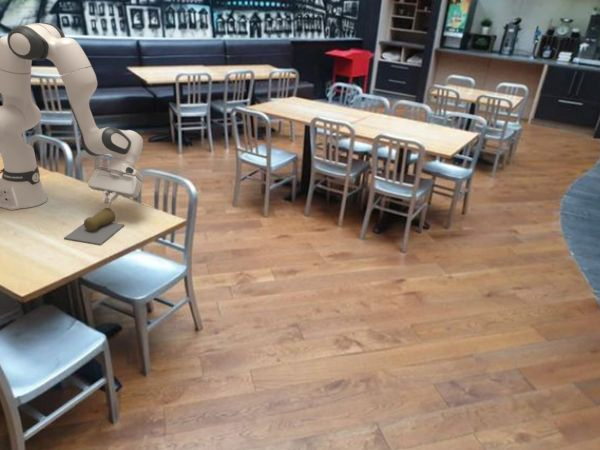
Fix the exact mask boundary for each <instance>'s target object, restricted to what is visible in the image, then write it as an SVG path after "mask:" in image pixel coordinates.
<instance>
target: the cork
mask: <svg viewBox="0 0 600 450" xmlns="http://www.w3.org/2000/svg"><path fill="white" fill-rule="evenodd" d="M115 221H116V213H115V212H114V210H113V209H111V208H110V207H104V208H103V209H102V210H100V211H99V212H97V213H96V214H94V215H93V216H89V217H86V218H85V219H84V221H83V224H84V226H85V228H86V229H87V230H89V231H95V230H96V229H97V228H98V227H100V226H103V225H106V224H109V223H115Z"/></svg>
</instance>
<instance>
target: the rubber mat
mask: <svg viewBox="0 0 600 450" xmlns="http://www.w3.org/2000/svg"><path fill="white" fill-rule="evenodd" d="M124 227H125V224H122V223H118V222H112V223H109V224H106V225H103V226H100V227H98V228H97V229H96V230H95V231H89V230H87V229H86V228H85V226H84V223H82V224H81V225H80V226H78V227H77V228H75V229H74V230H73V231H72V232H70V233H68V234H67V235H66V236H64V237H63V239H64V240H66V241H67V240H68V241H72V242H77V243H78V242H79V243H82V244H83V243H84V244H90V245H95V246H103V244H104V243H106V242H107V241H108V240H109V239H110V238H112V237H113V236H114V235H115V234H116V233H117V232H119V231H120V230H121V229H123V228H124Z"/></svg>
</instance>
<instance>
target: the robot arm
mask: <svg viewBox="0 0 600 450" xmlns="http://www.w3.org/2000/svg"><path fill="white" fill-rule="evenodd" d="M46 60H49V61H50V62H51V63H53V65H54V66H55V68H56V70H57V73H58V74H59V76H60V79H61V81H62V82H63V85H64V87H65V88H64V89H65V91H66V95H67V101H68V104H69V106H70V110H71V113H72V115H73V117H74V120H75V122H76V125H77V128H78V130H79V134H80V140H81V142H80V143H81V145H82V146H81V147H82V148H83V150H84V151H85V152H86V153H87V154H88V155H89V156H92V157H101V156H105V155H111V161H110V162H109V165H108V167H103V166H100V167H98V168H95V169H94V171H93V173H92V174H91V175H90V177H89V179H88V181H87V185H88V187H89V188H90V189H92V190H94V191H98V192H99V191H100V192H103V200H102V202H103V203H104V204H108V205H112V204H113V202H114V201H115V200H116V199H118V197H119V196H124V197H129V198H133V199H134V198H135V199H136V198H137V197H139V195H140V193H141V189H142V186H143V185H142V182H143V180H144V176H143V175H142V174H141V173H140V172H139V171H138V170H137V169H135V168H136V164H137V161H138V160H139V158H140V156H141V153H142V150H143V145H144V139H143V137H142V136H141V135H140V134H139V133H138V132H136V131H134V130H131V129H127V130H124V129H119V128H117V127H114V126H107V127H103V128H102V127H101V128H99V127H98V126H97V124H96V122H95V119H94V116H93V113H92V111H91V108H90V100H91V99H92V96H93V95H94V93H95V92H96V90H97V87H98V80H97V79H98V78H97V75H96V73H95V71H94V68H93V67H92V64H91V62H90V60H89V59H88V56H87V55H86V53H85V52H84V50H83V47H81V45H80V44H79V42H78V41H77V40H76V39H74V38H71V37H67V36H65V34H64V32H63V31H62V29H60V28H59V27H58V26H57V25H55V24H52V23H49V22H48V23H47V22H43V23H40V22H35V23H29V24H25V25H18V26H16V27H14V28H12V29H11V30H10V31H9V33H8V34H7V35H3V36H1V37H0V94H1V95H2V99H3V103H2V105H0V155H1V159H2V164H3V168H2V169H0V174H2V175H1V177H0V208H2V209H6V210H9V211H15V210H19V209H26V208H33V207H38V206H40V205H43V204H44V203H46V202H47V200H48V197H47V195H46V193H45V191H44V188H43V185H42V182H41V179H40V178H41V177H40V169H39V166H37V165H38V164H37V160H36V155H35V149H34V148H33V146H32V145H30V144H29V143H27V142H26V141H25V139H24V137H23V133H24V132H26V131H28V130H31V129H33V128H35V126H38V124H39V123H40V122H41V120H42V112H41V110H40V108H39V107H38V105H36V104H35V103H34V100H33V97H32V91H31V90H32V89H31V88H32V87H31V79H32V62H33V61H46ZM110 194H112V195H111V196H110ZM109 196H110V197H109Z"/></svg>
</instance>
